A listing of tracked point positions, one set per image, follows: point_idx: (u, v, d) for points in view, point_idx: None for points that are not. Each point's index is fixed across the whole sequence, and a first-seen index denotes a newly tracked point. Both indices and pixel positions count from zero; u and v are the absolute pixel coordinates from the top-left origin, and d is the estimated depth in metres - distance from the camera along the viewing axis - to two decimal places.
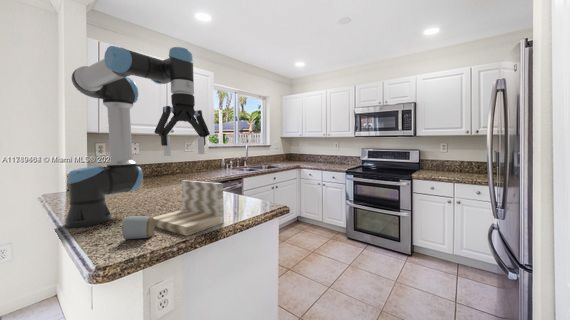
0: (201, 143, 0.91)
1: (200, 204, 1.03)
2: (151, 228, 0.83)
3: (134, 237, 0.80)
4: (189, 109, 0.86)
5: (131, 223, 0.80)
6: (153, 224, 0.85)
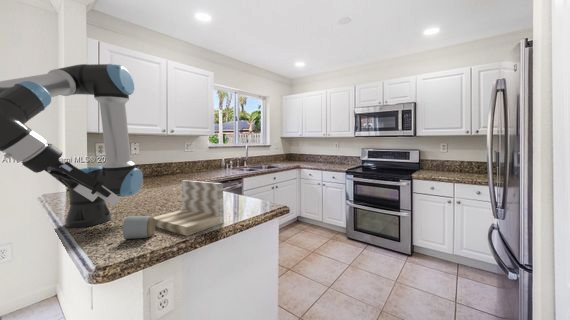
0: None
1: (200, 204, 1.03)
2: (152, 227, 0.84)
3: (134, 237, 0.81)
4: (53, 168, 0.63)
5: (132, 223, 0.80)
6: (153, 224, 0.85)
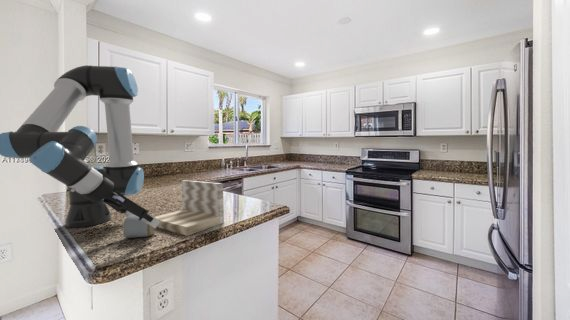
0: None
1: (200, 204, 1.03)
2: None
3: (135, 236, 0.81)
4: (106, 198, 0.74)
5: (132, 222, 0.81)
6: None
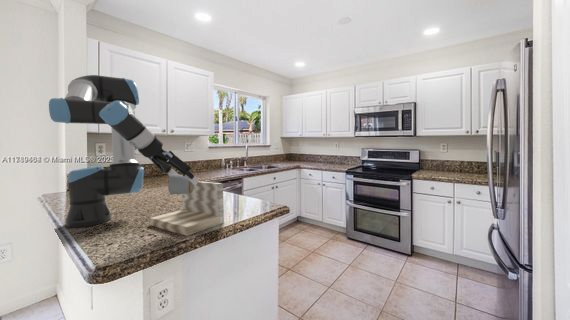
0: None
1: (200, 204, 1.03)
2: (192, 185, 0.95)
3: (178, 192, 0.92)
4: (157, 154, 0.85)
5: (176, 179, 0.91)
6: None
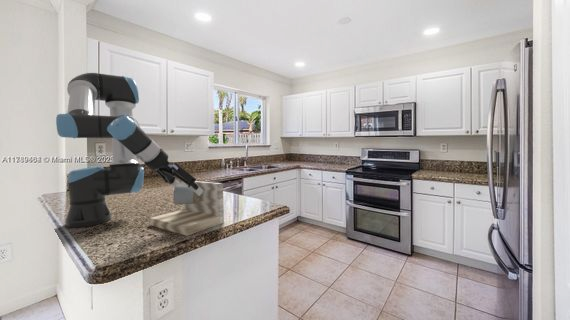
0: None
1: (200, 204, 1.03)
2: (196, 195, 0.97)
3: (183, 202, 0.94)
4: (162, 166, 0.87)
5: (180, 190, 0.93)
6: None
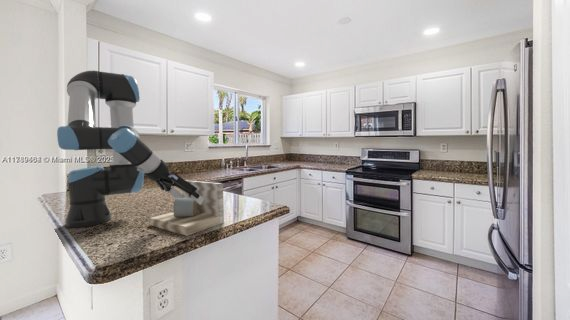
0: None
1: None
2: (196, 208, 0.98)
3: (182, 215, 0.95)
4: (163, 177, 0.87)
5: (180, 203, 0.94)
6: (196, 205, 0.99)
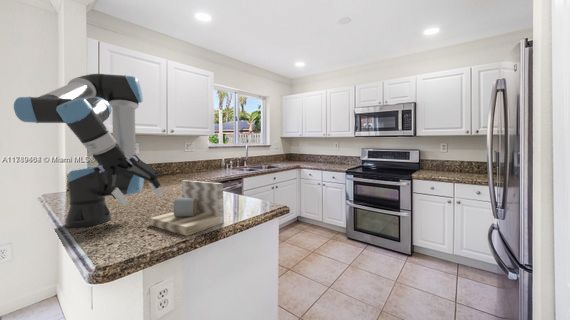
0: None
1: (200, 204, 1.03)
2: (196, 207, 0.98)
3: (182, 215, 0.95)
4: (117, 162, 0.76)
5: (180, 203, 0.94)
6: (197, 205, 0.99)
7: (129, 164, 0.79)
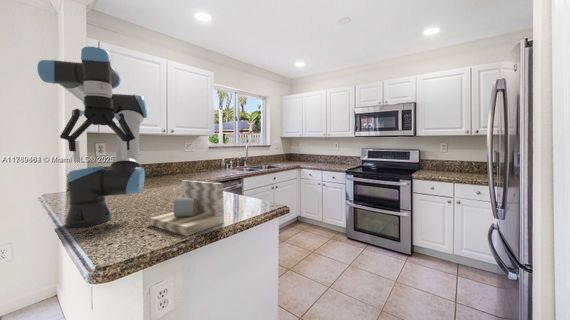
0: (123, 148, 0.86)
1: (200, 204, 1.03)
2: (196, 207, 0.98)
3: (183, 215, 0.95)
4: (106, 112, 0.81)
5: (180, 203, 0.94)
6: (197, 205, 1.00)
7: None
